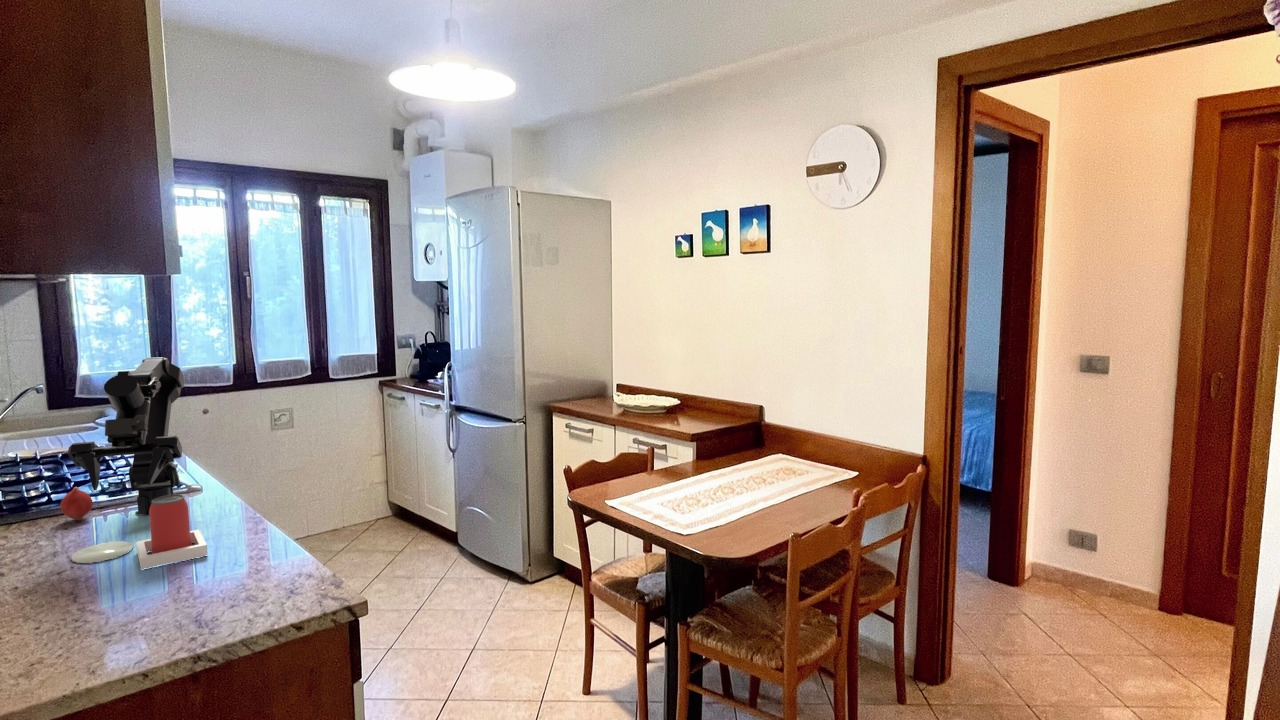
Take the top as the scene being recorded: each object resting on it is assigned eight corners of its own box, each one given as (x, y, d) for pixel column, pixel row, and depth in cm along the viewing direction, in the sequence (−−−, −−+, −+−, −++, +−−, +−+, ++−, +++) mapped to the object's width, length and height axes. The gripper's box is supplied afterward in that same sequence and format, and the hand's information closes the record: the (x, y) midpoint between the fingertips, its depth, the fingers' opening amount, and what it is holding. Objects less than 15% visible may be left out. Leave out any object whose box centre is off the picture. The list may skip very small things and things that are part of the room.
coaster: (111, 541, 145) (110, 539, 145) (145, 547, 142) (144, 544, 142) (59, 559, 136) (59, 557, 136) (94, 566, 133) (94, 563, 133)
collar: (137, 553, 139) (136, 541, 139) (200, 540, 146) (199, 529, 146) (141, 570, 131) (140, 558, 130) (207, 556, 138) (206, 544, 138)
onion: (56, 522, 156) (52, 488, 155) (84, 514, 162) (81, 482, 161) (71, 525, 154) (68, 492, 153) (99, 517, 160) (96, 485, 159)
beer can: (198, 551, 140) (194, 496, 139) (165, 563, 134) (160, 505, 133) (179, 546, 143) (174, 491, 141) (145, 557, 137) (140, 500, 136)
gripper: (65, 405, 137) (51, 473, 129) (174, 399, 145) (168, 463, 137) (82, 433, 145) (70, 499, 137) (185, 425, 153) (179, 488, 145)
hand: (122, 486), depth 139 cm, fingers open, 9 cm apart
